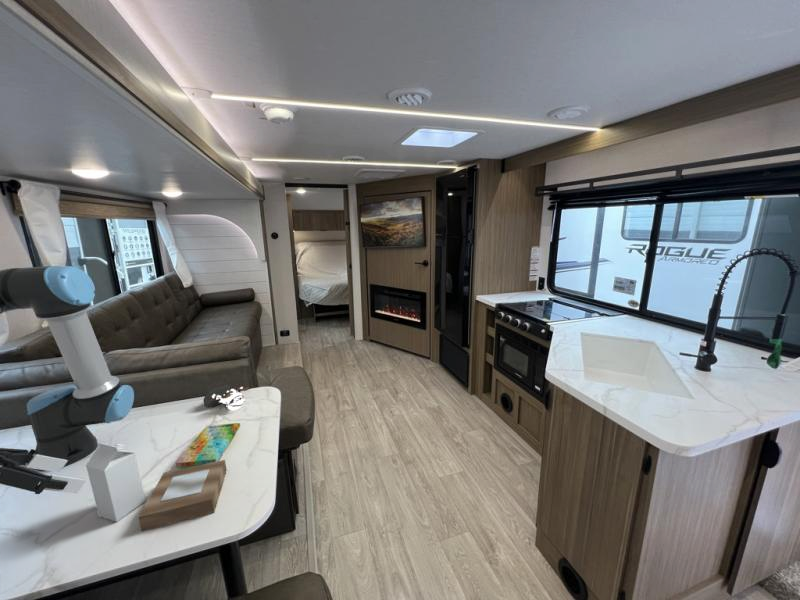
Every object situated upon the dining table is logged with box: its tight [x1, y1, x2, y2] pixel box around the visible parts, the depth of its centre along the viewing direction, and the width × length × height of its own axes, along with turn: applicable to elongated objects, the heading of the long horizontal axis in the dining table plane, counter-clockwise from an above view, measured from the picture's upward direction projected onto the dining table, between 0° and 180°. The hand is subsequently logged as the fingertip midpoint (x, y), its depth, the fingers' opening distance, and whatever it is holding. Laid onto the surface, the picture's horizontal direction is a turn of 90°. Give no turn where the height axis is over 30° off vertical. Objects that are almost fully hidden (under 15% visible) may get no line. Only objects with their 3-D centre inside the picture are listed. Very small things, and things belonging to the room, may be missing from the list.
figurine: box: [202, 384, 251, 411], centre depth 137 cm, size 14×10×18 cm
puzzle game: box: [174, 422, 241, 469], centre depth 109 cm, size 12×5×20 cm
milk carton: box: [85, 442, 147, 523], centre depth 85 cm, size 7×7×19 cm
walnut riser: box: [137, 459, 228, 532], centre depth 89 cm, size 16×16×4 cm
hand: (71, 475), depth 77 cm, fingers open, 13 cm apart
